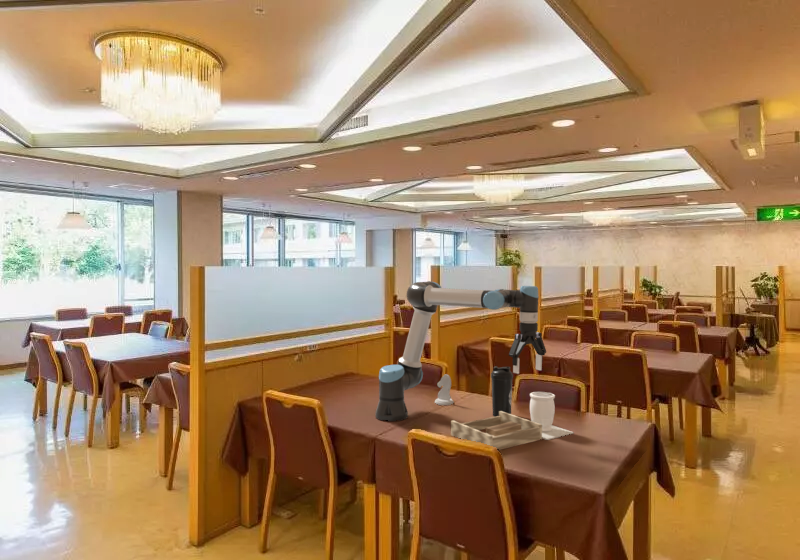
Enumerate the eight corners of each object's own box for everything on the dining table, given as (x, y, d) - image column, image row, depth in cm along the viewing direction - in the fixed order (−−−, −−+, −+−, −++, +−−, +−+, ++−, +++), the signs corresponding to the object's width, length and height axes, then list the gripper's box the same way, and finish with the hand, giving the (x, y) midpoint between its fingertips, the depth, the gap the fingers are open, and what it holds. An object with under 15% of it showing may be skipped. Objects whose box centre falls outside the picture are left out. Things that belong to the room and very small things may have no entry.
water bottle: (512, 419, 242) (513, 369, 241) (490, 417, 244) (490, 368, 243) (512, 413, 252) (512, 365, 251) (491, 412, 254) (491, 364, 253)
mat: (512, 427, 230) (512, 426, 230) (537, 421, 238) (537, 420, 238) (547, 440, 213) (547, 438, 213) (573, 433, 221) (573, 432, 221)
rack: (450, 435, 219) (451, 420, 219) (500, 424, 234) (500, 410, 234) (490, 452, 199) (490, 436, 199) (541, 439, 214) (541, 424, 214)
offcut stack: (481, 443, 210) (481, 428, 210) (512, 435, 220) (512, 420, 220) (492, 447, 205) (492, 432, 205) (523, 438, 215) (523, 424, 215)
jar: (526, 425, 230) (526, 391, 230) (549, 425, 231) (549, 391, 231) (534, 433, 220) (534, 397, 219) (558, 432, 221) (558, 397, 220)
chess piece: (441, 399, 278) (442, 371, 278) (457, 402, 272) (457, 373, 271) (430, 403, 270) (430, 374, 270) (446, 406, 264) (446, 376, 264)
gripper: (513, 324, 214) (512, 376, 215) (555, 321, 228) (554, 370, 229) (501, 322, 221) (499, 372, 221) (542, 319, 234) (540, 367, 235)
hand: (527, 371), depth 225 cm, fingers open, 13 cm apart
